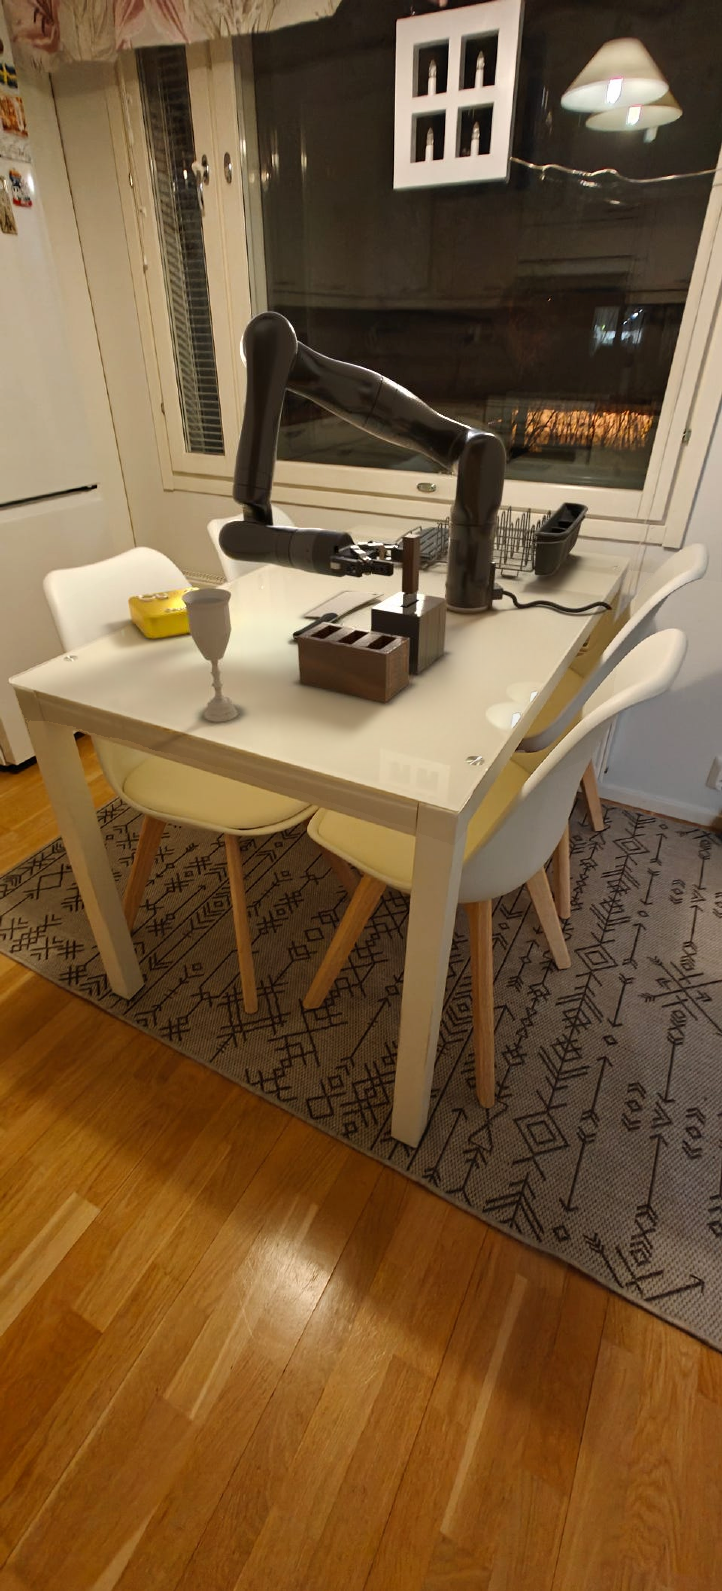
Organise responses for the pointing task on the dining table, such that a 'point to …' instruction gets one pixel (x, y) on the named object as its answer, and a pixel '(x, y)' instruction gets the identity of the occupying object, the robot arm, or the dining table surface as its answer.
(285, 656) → the dining table surface
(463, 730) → the dining table surface
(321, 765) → the dining table surface
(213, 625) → the chalice
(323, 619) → the kitchen cleaver
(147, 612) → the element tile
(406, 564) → the chef knife
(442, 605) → the knife block
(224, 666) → the dining table surface
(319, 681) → the knife rack
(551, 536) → the dish rack
